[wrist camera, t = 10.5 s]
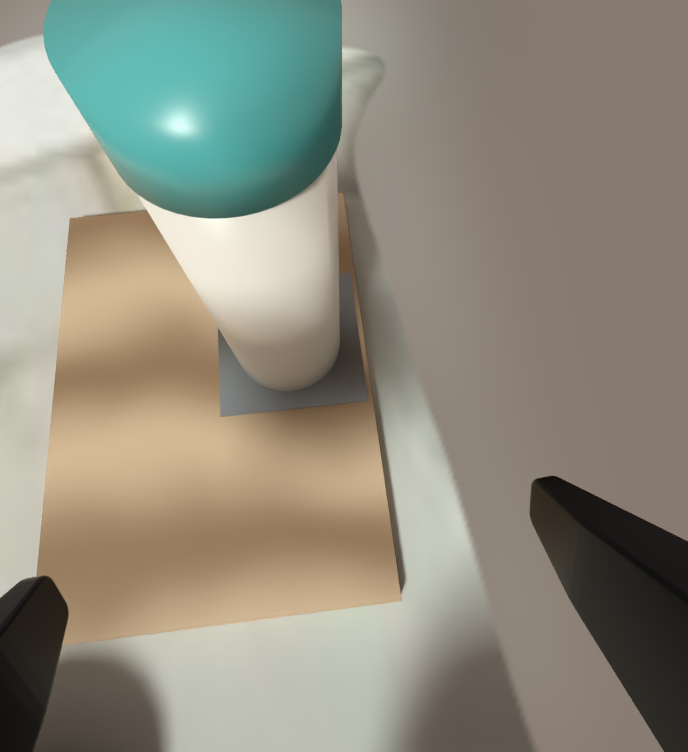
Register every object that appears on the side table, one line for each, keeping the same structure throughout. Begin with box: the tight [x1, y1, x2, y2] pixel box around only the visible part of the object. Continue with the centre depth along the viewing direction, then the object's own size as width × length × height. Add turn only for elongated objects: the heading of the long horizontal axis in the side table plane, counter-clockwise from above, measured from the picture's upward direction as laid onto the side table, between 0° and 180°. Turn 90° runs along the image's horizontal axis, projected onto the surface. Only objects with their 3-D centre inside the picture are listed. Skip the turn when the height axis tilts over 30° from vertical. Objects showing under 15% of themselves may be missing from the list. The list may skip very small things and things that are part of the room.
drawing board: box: [37, 193, 402, 646], centre depth 19 cm, size 18×13×1 cm
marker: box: [43, 0, 342, 391], centre depth 13 cm, size 5×5×13 cm
